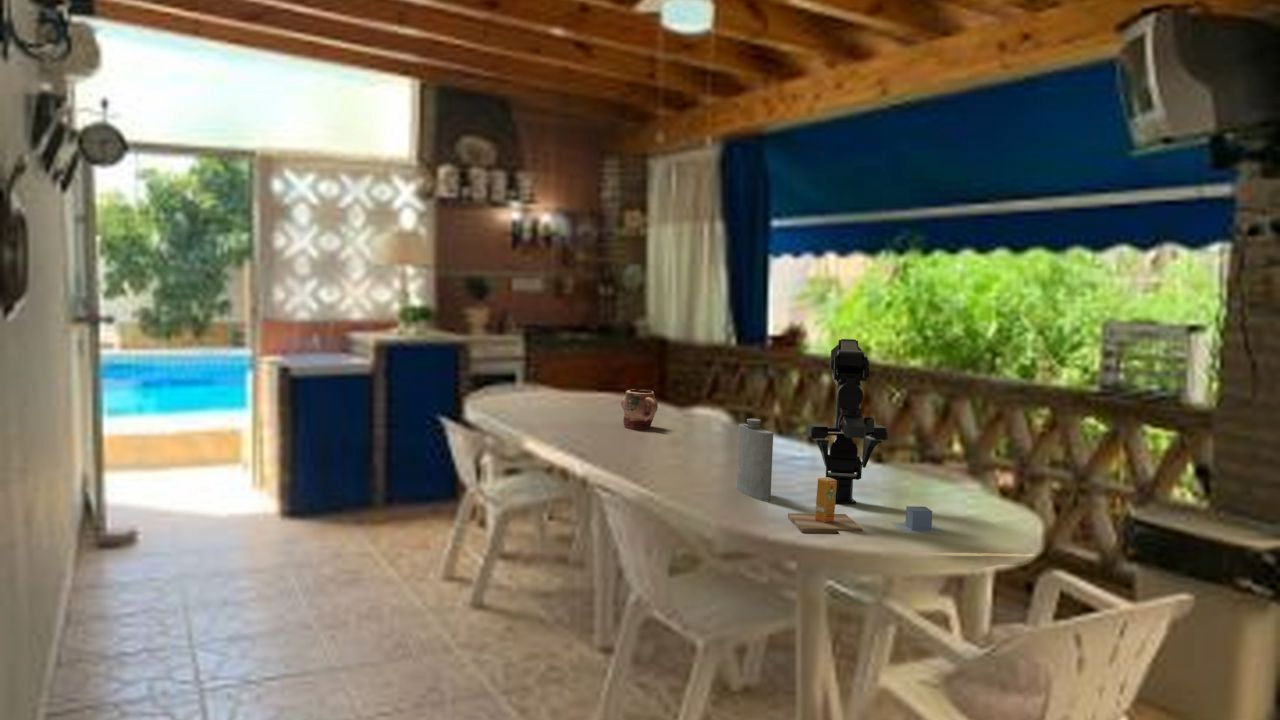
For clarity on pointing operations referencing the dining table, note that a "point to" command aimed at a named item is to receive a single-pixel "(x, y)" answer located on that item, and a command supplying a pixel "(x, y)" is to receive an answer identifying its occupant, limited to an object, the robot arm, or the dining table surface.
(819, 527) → the walnut board
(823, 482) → the supplement box
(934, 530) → the grey mat
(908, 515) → the slate blue block
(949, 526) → the dining table surface
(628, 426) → the pink rounded hollow vessel
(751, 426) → the hip flask
